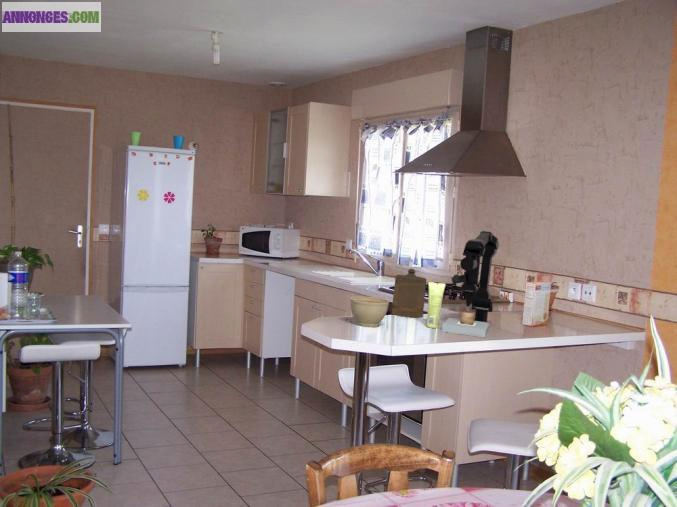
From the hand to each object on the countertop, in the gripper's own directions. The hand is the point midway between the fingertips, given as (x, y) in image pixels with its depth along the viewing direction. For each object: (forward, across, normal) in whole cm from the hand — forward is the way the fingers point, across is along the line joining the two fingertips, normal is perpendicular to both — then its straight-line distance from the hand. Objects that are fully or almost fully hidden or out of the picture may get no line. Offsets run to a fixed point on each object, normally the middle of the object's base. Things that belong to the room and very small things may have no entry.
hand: (468, 305), depth 307 cm
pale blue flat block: (+11, 0, 0) cm, 11 cm away
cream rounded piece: (+11, 0, 0) cm, 11 cm away
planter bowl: (+11, +21, -39) cm, 46 cm away
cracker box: (+11, -43, +28) cm, 53 cm away
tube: (+11, +4, -14) cm, 18 cm away
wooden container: (+11, -21, -30) cm, 38 cm away
